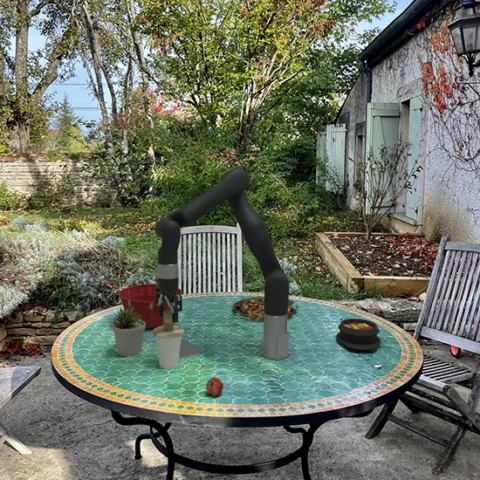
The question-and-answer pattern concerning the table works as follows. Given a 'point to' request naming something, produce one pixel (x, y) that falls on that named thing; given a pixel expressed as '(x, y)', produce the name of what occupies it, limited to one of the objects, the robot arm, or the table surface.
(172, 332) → the lid
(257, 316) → the food dish
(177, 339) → the foam cup
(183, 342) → the mat
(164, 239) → the robot arm
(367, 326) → the casserole
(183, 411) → the table surface
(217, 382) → the pomegranate
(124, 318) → the potted plant
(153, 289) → the mixing bowl
